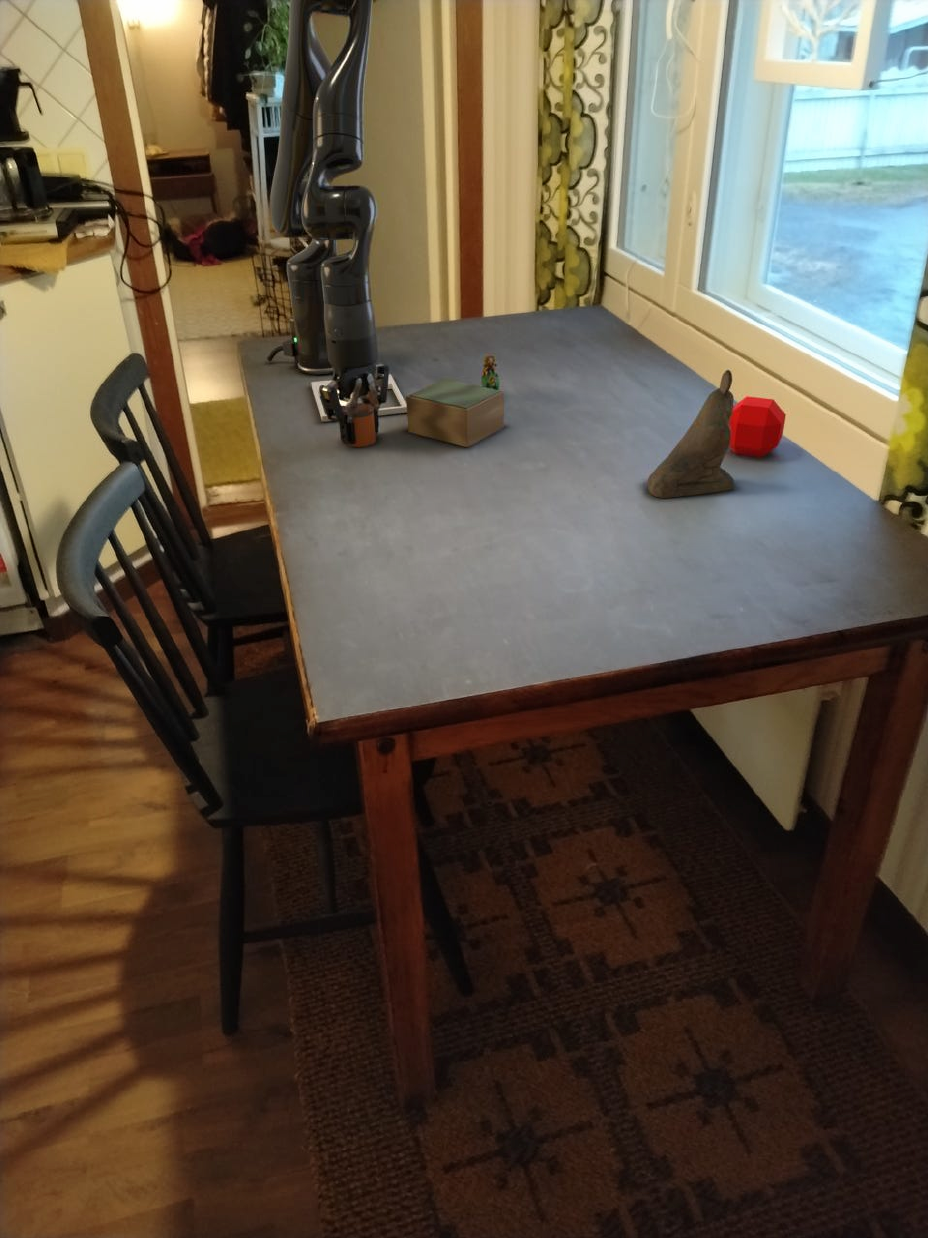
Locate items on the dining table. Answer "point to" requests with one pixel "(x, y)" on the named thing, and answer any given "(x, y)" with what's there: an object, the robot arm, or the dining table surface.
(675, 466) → the brown carved statuette
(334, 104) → the robot arm
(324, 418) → the photo frame
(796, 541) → the dining table surface
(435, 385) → the riser block
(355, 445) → the orange tin
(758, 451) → the ball
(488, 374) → the figurine
